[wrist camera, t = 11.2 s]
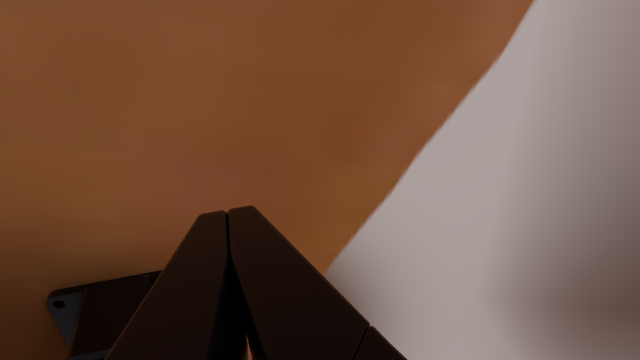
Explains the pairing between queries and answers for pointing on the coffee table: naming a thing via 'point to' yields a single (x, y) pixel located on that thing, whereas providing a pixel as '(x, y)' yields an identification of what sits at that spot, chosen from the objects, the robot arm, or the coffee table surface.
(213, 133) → the coffee table surface
